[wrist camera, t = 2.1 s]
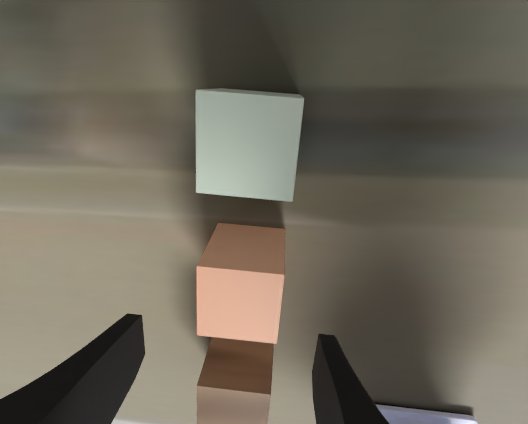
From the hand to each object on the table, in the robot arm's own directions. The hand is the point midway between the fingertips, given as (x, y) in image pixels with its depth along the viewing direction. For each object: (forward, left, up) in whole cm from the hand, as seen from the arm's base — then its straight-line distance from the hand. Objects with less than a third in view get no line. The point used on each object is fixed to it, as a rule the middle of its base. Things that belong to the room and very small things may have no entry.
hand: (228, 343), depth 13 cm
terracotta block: (0, 0, -7) cm, 7 cm away
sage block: (+7, 0, -7) cm, 10 cm away
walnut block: (-8, 0, -7) cm, 11 cm away
